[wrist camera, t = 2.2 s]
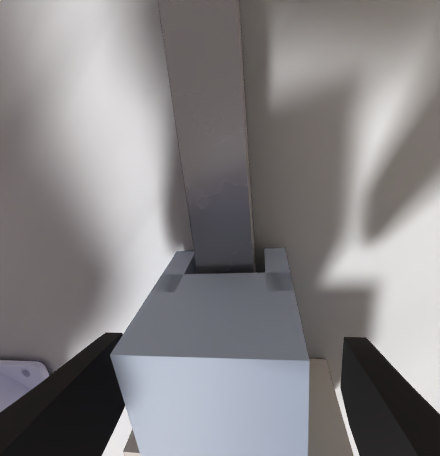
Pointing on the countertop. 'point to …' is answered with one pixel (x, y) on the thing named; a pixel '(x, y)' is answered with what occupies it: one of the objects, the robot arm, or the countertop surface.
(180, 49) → the rail
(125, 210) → the countertop surface
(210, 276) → the carriage
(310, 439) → the cabinet
